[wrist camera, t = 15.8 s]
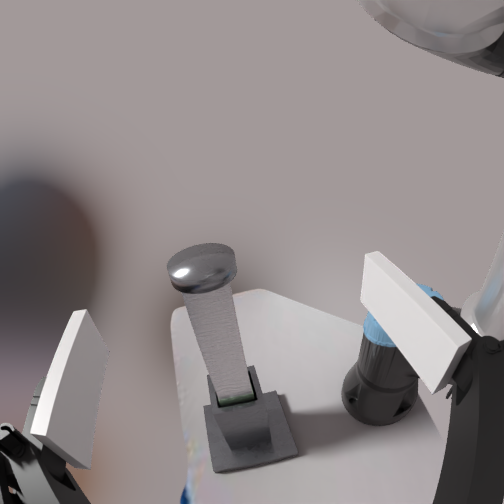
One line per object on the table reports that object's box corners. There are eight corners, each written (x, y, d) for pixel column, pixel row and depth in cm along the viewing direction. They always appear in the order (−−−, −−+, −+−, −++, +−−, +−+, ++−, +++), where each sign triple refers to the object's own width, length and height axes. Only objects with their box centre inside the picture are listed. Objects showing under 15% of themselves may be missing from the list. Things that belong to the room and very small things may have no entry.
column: (218, 401, 41) (168, 250, 28) (257, 392, 42) (229, 238, 29) (224, 433, 36) (165, 284, 23) (266, 424, 37) (240, 269, 24)
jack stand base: (205, 409, 48) (181, 358, 41) (276, 394, 50) (270, 340, 42) (215, 473, 36) (187, 437, 28) (298, 455, 38) (299, 414, 30)
